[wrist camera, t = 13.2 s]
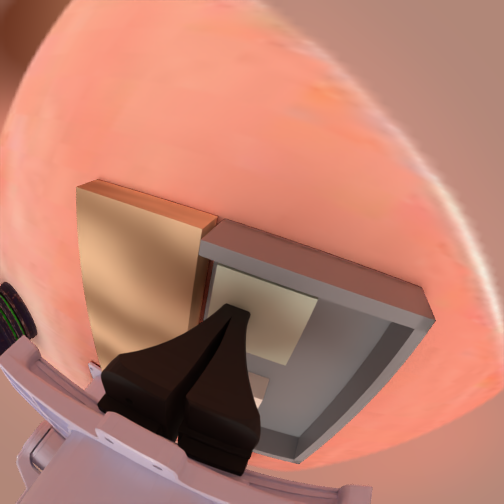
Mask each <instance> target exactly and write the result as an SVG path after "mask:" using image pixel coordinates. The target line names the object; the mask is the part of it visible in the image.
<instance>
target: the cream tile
mask: <svg viewBox="0 0 504 504" xmlns="http://www.w3.org/2000/svg"><path fill="white" fill-rule="evenodd" d="M248 376H249V381H250V385H251V389H252V393H253V397H254V400H255V403H256V406H257V409H258V407H259V406H260V404H261V402H262V400H263V398H264V395H265V391H266V388H267V385H268V382H269V379H268V378H265V377H262V376H259V375H256V374H254V373H251V372H248Z"/></svg>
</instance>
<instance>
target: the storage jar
mask: <svg viewBox="0 0 504 504" xmlns="http://www.w3.org/2000/svg"><path fill="white" fill-rule="evenodd" d="M23 335H25V336H26V337H27V338H28V339H29V340H30V339H31V338H34V337H35V336H36V335H37V330H36V326H35V324H34V321H33V319H32V317H31V315H30V313H29V311H28V309H27V307H26V306H25V304H24V302H23V301H22V299H21V298H20V296H19V295H18V293H17V292H16V291H15V290H14V288H13V287H12V286H11V285H10V284H8V283H7V282H4V283H3V284H1V286H0V356H1V355H2V354H3V353H4V352H5V351H6V350H7V349H8V348H10V347H11V346H12V345H13V344H14V343H15V342H16V341H17V340H18V339H19V338H21V337H22V336H23Z"/></svg>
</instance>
